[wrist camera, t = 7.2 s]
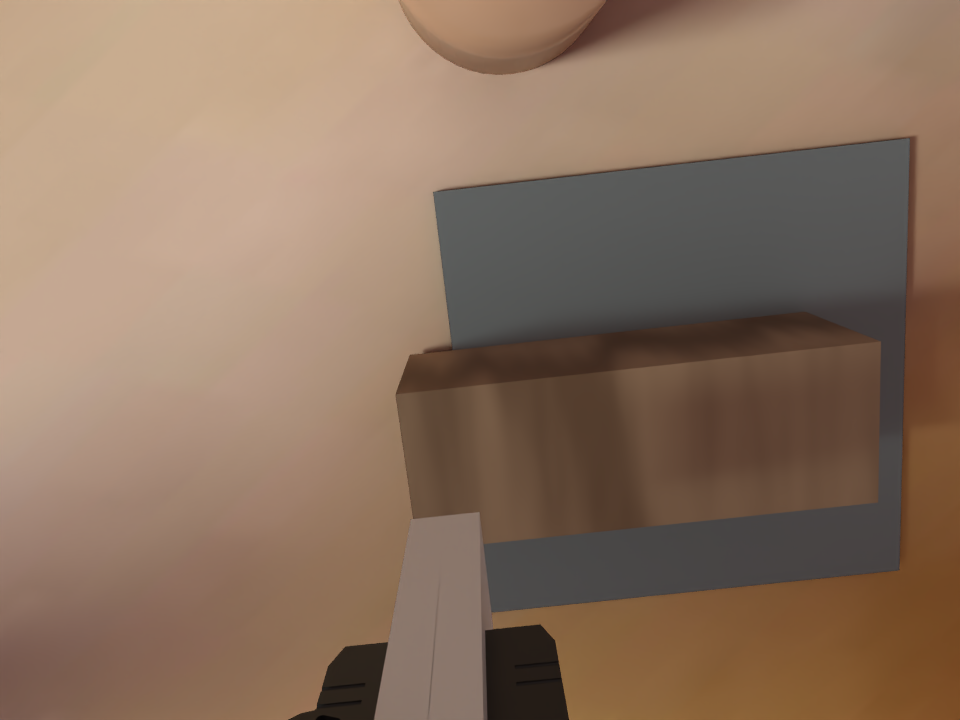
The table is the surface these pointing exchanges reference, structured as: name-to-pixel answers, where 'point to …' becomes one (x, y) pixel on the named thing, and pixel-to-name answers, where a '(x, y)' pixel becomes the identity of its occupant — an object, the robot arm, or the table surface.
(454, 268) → the mat
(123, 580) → the table surface
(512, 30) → the beige short cylinder
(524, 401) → the walnut block
